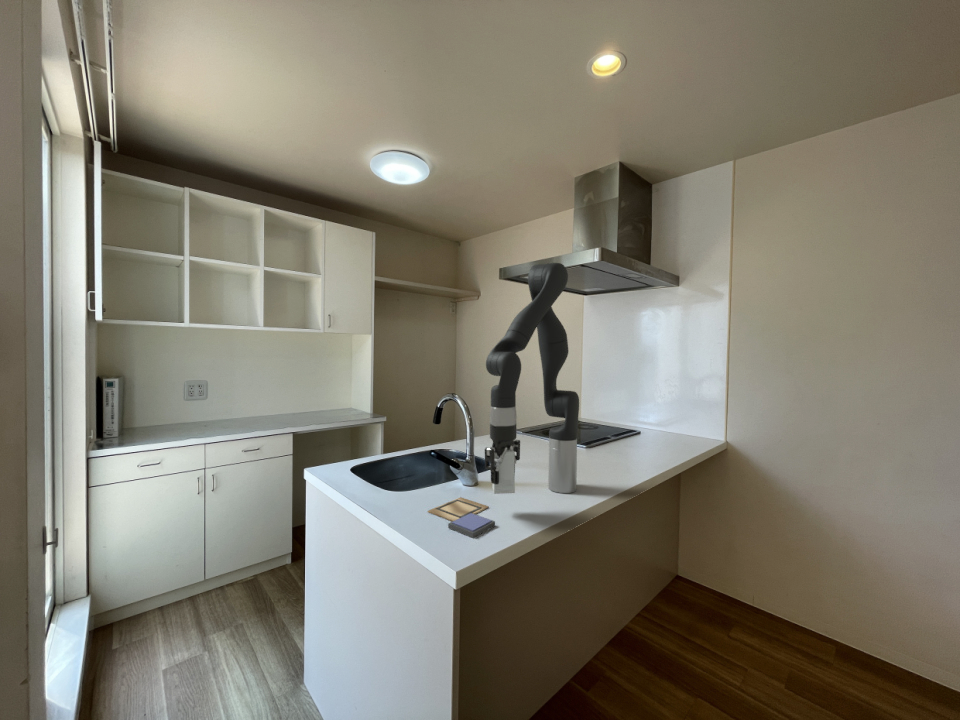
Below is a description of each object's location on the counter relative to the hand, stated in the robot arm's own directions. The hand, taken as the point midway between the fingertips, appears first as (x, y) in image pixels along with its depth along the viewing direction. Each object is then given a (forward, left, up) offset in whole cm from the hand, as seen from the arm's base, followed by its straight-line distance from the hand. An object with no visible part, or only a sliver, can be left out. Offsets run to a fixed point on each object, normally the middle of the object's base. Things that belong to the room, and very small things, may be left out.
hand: (503, 479), depth 111 cm
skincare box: (0, 0, -4) cm, 4 cm away
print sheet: (+6, -11, -10) cm, 16 cm away
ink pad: (+12, -1, -10) cm, 16 cm away
